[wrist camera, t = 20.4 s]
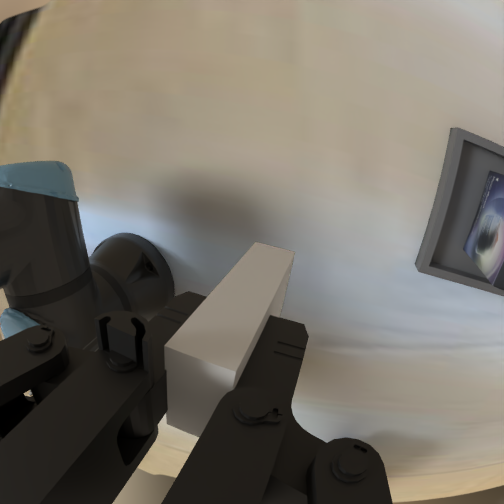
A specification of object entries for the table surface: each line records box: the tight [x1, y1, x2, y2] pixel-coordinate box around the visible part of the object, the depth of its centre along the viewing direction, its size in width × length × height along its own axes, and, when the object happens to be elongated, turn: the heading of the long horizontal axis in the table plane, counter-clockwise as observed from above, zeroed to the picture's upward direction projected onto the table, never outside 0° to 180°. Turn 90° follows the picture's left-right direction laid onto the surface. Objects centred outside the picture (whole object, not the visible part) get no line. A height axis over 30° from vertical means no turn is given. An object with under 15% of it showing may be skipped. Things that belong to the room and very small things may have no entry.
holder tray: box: [415, 128, 504, 296], centre depth 29 cm, size 17×17×2 cm
